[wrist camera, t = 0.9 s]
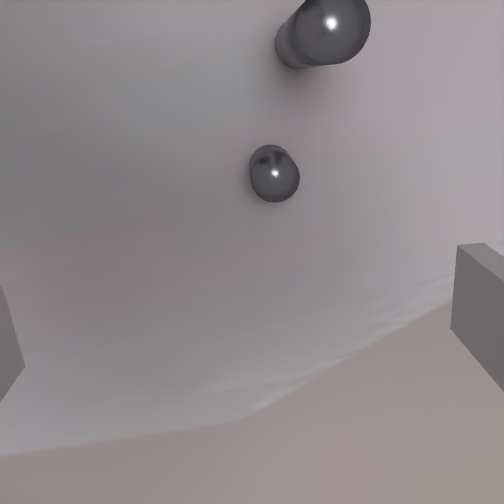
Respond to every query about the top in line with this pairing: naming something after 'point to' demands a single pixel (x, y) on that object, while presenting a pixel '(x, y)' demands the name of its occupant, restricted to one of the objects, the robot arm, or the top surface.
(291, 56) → the long pin
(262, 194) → the short pin
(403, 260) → the top surface
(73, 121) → the top surface
